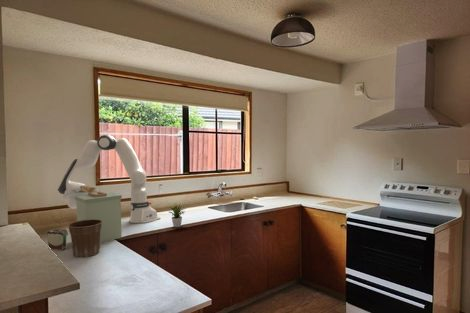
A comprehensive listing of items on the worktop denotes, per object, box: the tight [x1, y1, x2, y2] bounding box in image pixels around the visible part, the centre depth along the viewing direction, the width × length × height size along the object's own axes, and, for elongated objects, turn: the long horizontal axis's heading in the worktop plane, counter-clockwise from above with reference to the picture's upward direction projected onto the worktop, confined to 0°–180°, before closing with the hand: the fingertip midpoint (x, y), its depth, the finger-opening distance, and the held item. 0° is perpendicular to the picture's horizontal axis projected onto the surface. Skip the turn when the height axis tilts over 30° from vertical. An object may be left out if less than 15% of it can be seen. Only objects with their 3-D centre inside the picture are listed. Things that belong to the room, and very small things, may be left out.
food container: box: [45, 228, 69, 251], centre depth 169 cm, size 12×6×10 cm, turn 74°
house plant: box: [169, 202, 188, 228], centre depth 211 cm, size 14×14×16 cm
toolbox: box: [75, 190, 123, 243], centre depth 186 cm, size 21×17×28 cm
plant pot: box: [67, 219, 102, 258], centre depth 160 cm, size 16×16×16 cm
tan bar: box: [79, 184, 96, 193], centre depth 199 cm, size 4×18×3 cm, turn 44°
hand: (84, 187), depth 202 cm, fingers closed on tan bar, 3 cm apart
